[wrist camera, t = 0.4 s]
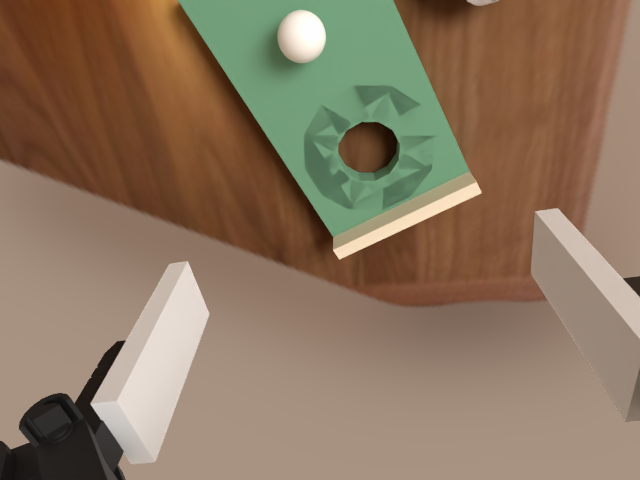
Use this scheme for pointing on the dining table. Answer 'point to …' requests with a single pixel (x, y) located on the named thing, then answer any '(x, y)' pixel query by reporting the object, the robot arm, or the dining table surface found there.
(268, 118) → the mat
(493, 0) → the fossil
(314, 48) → the ball
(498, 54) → the dining table surface
